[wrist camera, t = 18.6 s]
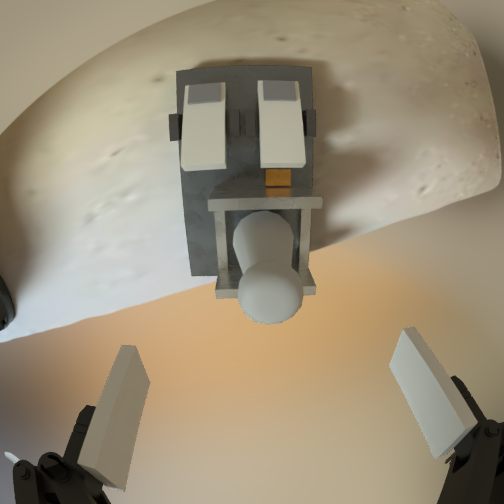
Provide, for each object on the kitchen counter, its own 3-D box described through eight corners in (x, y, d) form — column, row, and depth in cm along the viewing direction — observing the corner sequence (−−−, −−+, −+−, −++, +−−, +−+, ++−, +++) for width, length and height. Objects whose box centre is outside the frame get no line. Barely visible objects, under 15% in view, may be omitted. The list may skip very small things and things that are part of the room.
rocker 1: (185, 171, 23) (179, 165, 21) (188, 94, 23) (184, 84, 21) (226, 168, 23) (224, 162, 21) (226, 91, 23) (224, 80, 21)
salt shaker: (225, 216, 28) (209, 279, 16) (279, 196, 28) (303, 247, 16) (246, 265, 31) (246, 348, 19) (296, 247, 30) (326, 322, 18)
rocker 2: (260, 167, 23) (261, 161, 21) (257, 88, 23) (257, 78, 21) (302, 167, 23) (306, 162, 21) (295, 89, 23) (298, 79, 21)
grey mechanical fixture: (195, 266, 33) (183, 301, 26) (181, 75, 24) (162, 59, 17) (303, 262, 33) (317, 296, 27) (306, 72, 24) (325, 54, 18)
